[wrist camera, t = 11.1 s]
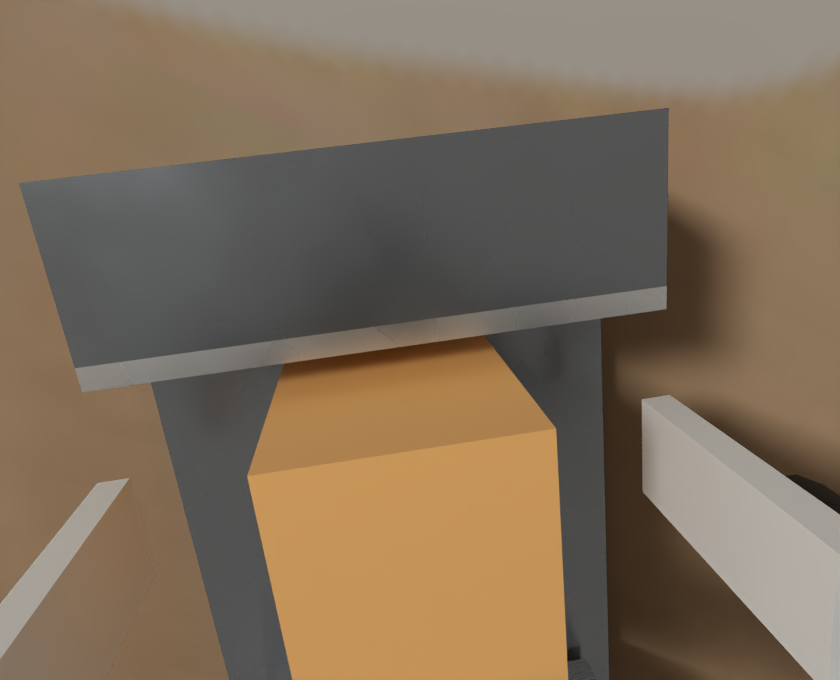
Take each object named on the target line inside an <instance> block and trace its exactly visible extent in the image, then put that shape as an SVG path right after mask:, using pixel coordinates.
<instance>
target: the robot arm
mask: <svg viewBox="0 0 840 680" xmlns="http://www.w3.org/2000/svg"><path fill="white" fill-rule="evenodd" d="M642 487H643V493H644V494H645V495H646V496H647V497H648V498H649V499H650V500H651V502H652V503H653V504H654V505H655V506H656V507H657V508H658V509H659V510H660V511H661V513H662V514H663V515H664V516H665V517H666V518H667V519H668V520H669V521H670V522H671V524H672V525H673V526H674V527H675V528H676V529H677V530H678V531H679V532H680V533H681V535H682V536H683V537H684V538H685V539H686V540H687V541H688V542H689V543H690V544H691V546H692V547H693V548H694V549H695V550H696V551H697V552H698V553H699V554H700V555H701V556H702V558H703V559H704V560H705V561H706V562H707V563H708V564H709V565H710V566H711V567H712V569H713V570H714V571H715V572H716V573H717V574H718V575H719V576H720V577H721V578H722V580H723V581H724V582H725V583H726V584H727V585H728V586H729V587H730V588H731V589H732V591H733V592H734V593H735V594H736V595H737V596H738V597H739V598H740V599H741V600H742V602H743V603H744V604H745V605H746V606H747V607H748V608H749V609H750V610H751V611H752V613H753V614H754V615H755V616H756V617H757V618H758V619H759V620H760V621H761V622H762V623H763V625H764V626H765V627H766V628H767V629H768V630H769V631H770V632H771V633H772V634H773V636H774V637H775V638H776V639H777V640H778V641H779V642H780V643H781V644H782V645H783V647H784V648H785V649H786V650H787V651H788V652H789V653H790V654H791V655H792V656H793V658H794V659H795V660H796V661H797V662H798V663H799V664H800V665H801V666H802V667H803V669H804V670H805V671H806V672H807V673H808V674H809V675H810V676H811V677H812V678H813V680H840V496H839V495H838V494H836V493H835V492H833V491H832V490H830V489H829V488H827V487H826V486H824V485H822V484H819V483H817V482H814V481H812V480H809V479H806V478H804V477H801V476H799V475H791V476H784V475H783V474H781V473H780V472H778V471H777V470H776V469H774V468H773V467H771V466H770V465H769V464H767V463H766V462H764V461H763V460H761V459H760V458H759V457H757V456H756V455H754V454H753V453H751V452H750V451H749V450H747V449H746V448H744V447H743V446H742V445H740V444H739V443H737V442H736V441H734V440H733V439H732V438H730V437H729V436H727V435H726V434H724V433H723V432H722V431H720V430H719V429H717V428H716V427H714V426H713V425H712V424H710V423H709V422H707V421H706V420H705V419H703V418H702V417H700V416H699V415H697V414H696V413H695V412H693V411H692V410H690V409H689V408H687V407H686V406H685V405H683V404H682V403H680V402H679V401H677V400H676V399H675V398H673V397H672V396H670V395H666V396H660V397H653V398H647V399H642ZM155 574H156V570H155V566H154V563H153V559H152V556H151V552H150V549H149V545H148V542H147V538H146V535H145V531H144V528H143V524H142V521H141V517H140V514H139V510H138V507H137V503H136V500H135V496H134V493H133V489H132V485H131V482H130V478H128V479H122V480H115V481H109V482H102V483H97V484H96V486H95V487H94V488H93V489H92V491H91V492H90V493H89V494H88V495H87V497H86V498H85V499H84V500H83V502H82V503H81V504H80V505H79V507H78V508H77V509H76V510H75V512H74V513H73V514H72V515H71V517H70V518H69V519H68V520H67V522H66V523H65V524H64V525H63V527H62V528H61V529H60V530H59V532H58V533H57V534H56V535H55V536H54V538H53V539H52V540H51V541H50V543H49V544H48V545H47V546H46V548H45V549H44V550H43V551H42V553H41V554H40V555H39V556H38V558H37V559H36V560H35V561H34V563H33V564H32V565H31V566H30V568H29V569H28V570H27V571H26V573H25V574H24V575H23V576H22V577H21V579H20V580H19V581H18V582H17V584H16V585H15V586H14V587H13V589H12V590H11V591H10V592H9V594H8V595H7V596H6V597H5V599H4V600H3V601H2V602H1V604H0V680H105V678H106V676H107V674H108V672H109V670H110V668H111V666H112V664H113V662H114V660H115V658H116V656H117V653H118V651H119V649H120V647H121V645H122V643H123V641H124V639H125V637H126V635H127V633H128V631H129V628H130V626H131V624H132V622H133V620H134V618H135V616H136V614H137V612H138V610H139V608H140V606H141V603H142V601H143V599H144V597H145V595H146V593H147V591H148V589H149V587H150V585H151V583H152V581H153V578H154V576H155Z"/></svg>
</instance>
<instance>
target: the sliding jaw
mask: <svg viewBox="0 0 840 680" xmlns="http://www.w3.org/2000/svg"><path fill="white" fill-rule="evenodd" d="M567 665H568V680H596V678H595V675H594V673H593V671H592V669H591V667H590V665H589V663H588V661H587V659H586V658H583V659H578V660H572V661H567Z"/></svg>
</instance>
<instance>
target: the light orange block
mask: <svg viewBox="0 0 840 680" xmlns="http://www.w3.org/2000/svg"><path fill="white" fill-rule="evenodd" d="M247 478H248V483H249V487H250V492H251V496H252V501H253V505H254V510H255V514H256V519H257V523H258V528H259V532H260V537H261V541H262V546H263V550H264V555H265V559H266V564H267V568H268V573H269V577H270V582H271V586H272V591H273V595H274V600H275V604H276V608H277V613H278V617H279V622H280V626H281V631H282V635H283V640H284V644H285V649H286V653H287V658H288V662H289V667H290V671H291V676H292V680H568V665H567V644H566V623H565V602H564V581H563V560H562V539H561V519H560V498H559V477H558V456H557V435H556V428H555V426H554V425H553V424H552V423H551V421H550V420H549V419H548V417H547V416H546V415H545V414H544V412H543V411H542V410H541V408H540V407H539V406H538V405H537V403H536V402H535V401H534V399H533V398H532V397H531V395H530V394H529V393H528V392H527V390H526V389H525V388H524V386H523V385H522V384H521V383H520V381H519V380H518V379H517V377H516V376H515V375H514V374H513V372H512V371H511V370H510V368H509V367H508V366H507V365H506V363H505V362H504V361H503V359H502V358H501V357H500V356H499V354H498V353H497V352H496V350H495V349H494V348H493V347H492V345H491V344H490V343H489V341H488V340H487V339H486V337H485V336H484V335H481V336H474V337H467V338H460V339H453V340H446V341H439V342H432V343H425V344H418V345H410V346H403V347H396V348H389V349H382V350H375V351H368V352H361V353H354V354H347V355H340V356H333V357H326V358H319V359H312V360H305V361H298V362H291V363H284V365H283V368H282V371H281V374H280V377H279V380H278V383H277V386H276V390H275V393H274V396H273V399H272V402H271V405H270V408H269V411H268V414H267V417H266V420H265V423H264V426H263V429H262V432H261V435H260V438H259V441H258V444H257V448H256V451H255V454H254V457H253V460H252V463H251V466H250V469H249V472H248V475H247Z"/></svg>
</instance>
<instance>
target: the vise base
mask: <svg viewBox="0 0 840 680" xmlns="http://www.w3.org/2000/svg"><path fill="white" fill-rule="evenodd" d="M668 114H669V108H664V109H655V110H646V111H638V112H629V113H620V114H612V115H603V116H595V117H586V118H577V119H569V120H560V121H551V122H543V123H534V124H525V125H517V126H508V127H500V128H491V129H482V130H474V131H465V132H456V133H448V134H439V135H430V136H422V137H413V138H405V139H396V140H387V141H379V142H370V143H361V144H353V145H344V146H335V147H327V148H318V149H310V150H301V151H292V152H284V153H275V154H266V155H258V156H249V157H240V158H232V159H223V160H215V161H206V162H197V163H189V164H180V165H171V166H163V167H154V168H145V169H137V170H128V171H120V172H111V173H102V174H94V175H85V176H76V177H68V178H59V179H50V180H42V181H33V182H25V183H19V185H20V188H21V191H22V194H23V198H24V201H25V204H26V208H27V211H28V214H29V218H30V221H31V224H32V228H33V231H34V234H35V237H36V241H37V244H38V247H39V251H40V254H41V257H42V261H43V264H44V267H45V271H46V274H47V277H48V281H49V284H50V287H51V290H52V294H53V297H54V300H55V304H56V307H57V310H58V314H59V317H60V320H61V324H62V327H63V330H64V334H65V337H66V340H67V343H68V347H69V350H70V353H71V357H72V360H73V363H74V367H75V370H76V373H77V377H78V380H79V383H80V386H81V390H82V392H87V391H94V390H101V389H108V388H115V387H122V386H129V385H136V384H143V383H150V382H151V385H152V388H153V392H154V396H155V400H156V404H157V407H158V411H159V415H160V419H161V423H162V426H163V430H164V434H165V438H166V442H167V445H168V449H169V453H170V457H171V460H172V464H173V468H174V472H175V476H176V479H177V483H178V487H179V491H180V495H181V498H182V502H183V506H184V510H185V513H186V517H187V521H188V525H189V529H190V532H191V536H192V540H193V544H194V548H195V551H196V555H197V559H198V563H199V567H200V570H201V574H202V578H203V582H204V585H205V589H206V593H207V597H208V601H209V604H210V608H211V612H212V616H213V620H214V623H215V627H216V631H217V635H218V639H219V642H220V646H221V650H222V654H223V657H224V661H225V665H226V669H227V673H228V676H229V680H292V676H291V671H290V667H289V662H288V658H287V653H286V649H285V644H284V640H283V635H282V631H281V626H280V622H279V617H278V613H277V608H276V604H275V600H274V595H273V591H272V586H271V582H270V577H269V573H268V568H267V564H266V559H265V555H264V550H263V546H262V541H261V537H260V532H259V528H258V523H257V519H256V514H255V510H254V505H253V501H252V496H251V492H250V487H249V483H248V478H247V475H248V472H249V469H250V466H251V463H252V460H253V457H254V454H255V451H256V448H257V444H258V441H259V438H260V435H261V432H262V429H263V426H264V423H265V420H266V417H267V414H268V411H269V408H270V405H271V402H272V399H273V396H274V393H275V390H276V386H277V383H278V380H279V377H280V374H281V371H282V368H283V365H284V363H291V362H298V361H305V360H312V359H319V358H326V357H333V356H340V355H347V354H354V353H361V352H368V351H375V350H382V349H389V348H396V347H403V346H410V345H418V344H425V343H432V342H439V341H446V340H453V339H460V338H467V337H474V336H481V335H484V336H485V337H486V339H487V340H488V341H489V343H490V344H491V345H492V347H493V348H494V349H495V350H496V352H497V353H498V354H499V356H500V357H501V358H502V359H503V361H504V362H505V363H506V365H507V366H508V367H509V368H510V370H511V371H512V372H513V374H514V375H515V376H516V377H517V379H518V380H519V381H520V383H521V384H522V385H523V386H524V388H525V389H526V390H527V392H528V393H529V394H530V395H531V397H532V398H533V399H534V401H535V402H536V403H537V405H538V406H539V407H540V408H541V410H542V411H543V412H544V414H545V415H546V416H547V417H548V419H549V420H550V421H551V423H552V424H553V425H554V426H555V428H556V435H557V456H558V477H559V498H560V519H561V539H562V560H563V581H564V602H565V623H566V644H567V661H572V660H578V659H583V658H586V659H587V661H588V663H589V665H590V667H591V669H592V671H593V673H594V675H595V678H596V680H609V649H608V607H607V565H606V523H605V481H604V438H603V396H602V354H601V318H608V317H615V316H622V315H629V314H636V313H643V312H650V311H657V310H664V309H667V213H668Z"/></svg>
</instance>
